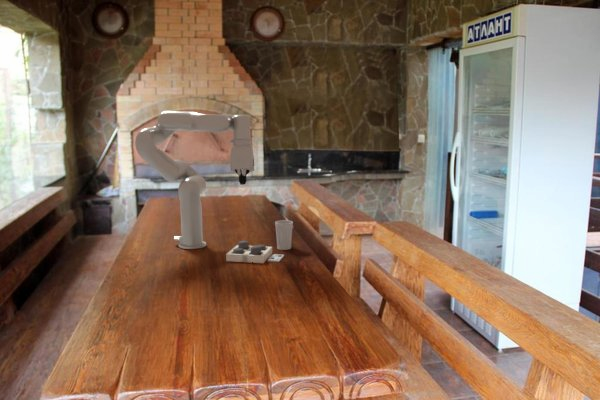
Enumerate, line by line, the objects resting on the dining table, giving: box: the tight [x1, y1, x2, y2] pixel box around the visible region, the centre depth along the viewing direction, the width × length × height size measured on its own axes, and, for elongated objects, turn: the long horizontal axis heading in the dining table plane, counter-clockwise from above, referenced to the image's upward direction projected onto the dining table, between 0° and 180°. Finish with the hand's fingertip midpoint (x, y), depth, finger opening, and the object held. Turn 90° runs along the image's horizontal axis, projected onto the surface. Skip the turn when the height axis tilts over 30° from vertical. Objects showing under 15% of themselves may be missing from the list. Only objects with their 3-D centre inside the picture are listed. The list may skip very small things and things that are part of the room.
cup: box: [274, 219, 294, 251], centre depth 257 cm, size 8×8×12 cm
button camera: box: [251, 245, 261, 255], centre depth 239 cm, size 4×4×4 cm
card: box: [267, 253, 285, 263], centre depth 241 cm, size 5×9×1 cm, turn 169°
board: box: [225, 244, 273, 264], centre depth 244 cm, size 16×15×3 cm
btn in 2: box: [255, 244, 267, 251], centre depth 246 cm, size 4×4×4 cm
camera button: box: [232, 248, 244, 254], centre depth 241 cm, size 4×4×4 cm
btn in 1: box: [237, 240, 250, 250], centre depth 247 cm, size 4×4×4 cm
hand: (242, 184), depth 254 cm, fingers closed
